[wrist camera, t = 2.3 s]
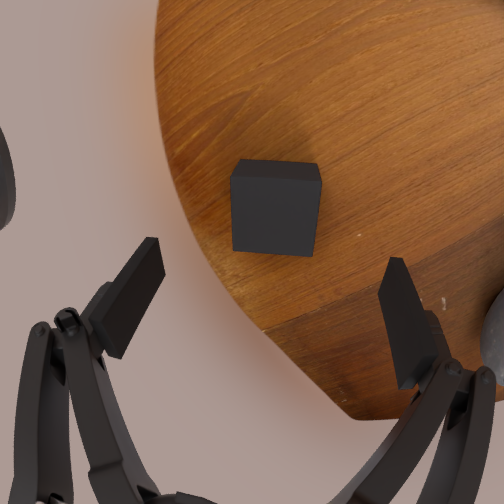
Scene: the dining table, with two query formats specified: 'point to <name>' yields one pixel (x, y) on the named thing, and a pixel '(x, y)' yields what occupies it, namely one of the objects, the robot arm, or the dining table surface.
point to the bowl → (494, 339)
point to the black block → (275, 207)
